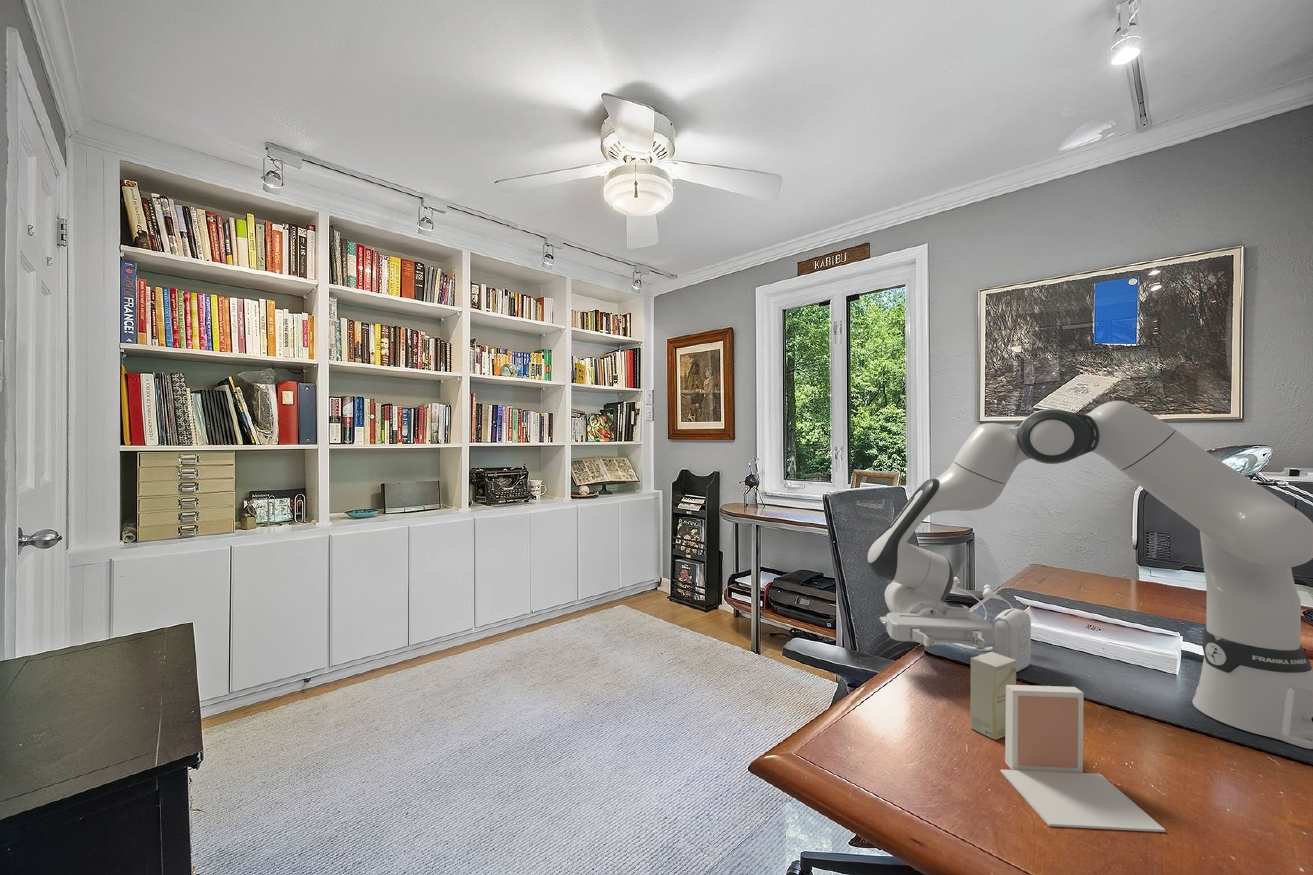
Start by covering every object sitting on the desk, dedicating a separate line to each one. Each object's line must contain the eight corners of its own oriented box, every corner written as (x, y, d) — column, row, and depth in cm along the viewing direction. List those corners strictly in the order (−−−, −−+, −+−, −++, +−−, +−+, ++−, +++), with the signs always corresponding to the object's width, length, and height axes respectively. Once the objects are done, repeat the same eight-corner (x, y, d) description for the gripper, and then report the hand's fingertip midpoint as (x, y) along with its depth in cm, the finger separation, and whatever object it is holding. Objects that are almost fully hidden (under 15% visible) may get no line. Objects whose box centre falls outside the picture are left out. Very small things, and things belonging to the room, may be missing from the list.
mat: (1100, 775, 79) (1100, 773, 79) (1165, 832, 68) (1165, 829, 68) (1000, 771, 80) (1000, 769, 80) (1048, 826, 69) (1048, 823, 69)
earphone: (1032, 621, 131) (1001, 582, 124) (1007, 683, 126) (974, 646, 119) (975, 605, 143) (945, 569, 136) (951, 661, 138) (918, 626, 131)
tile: (1074, 765, 81) (1075, 687, 81) (1083, 773, 79) (1084, 693, 79) (1005, 762, 82) (1005, 684, 82) (1012, 770, 80) (1013, 690, 80)
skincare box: (995, 741, 87) (995, 667, 87) (968, 728, 91) (969, 657, 91) (1017, 731, 90) (1018, 659, 90) (990, 718, 94) (991, 650, 94)
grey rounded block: (1011, 658, 119) (1012, 602, 119) (1033, 665, 115) (1034, 608, 115) (988, 669, 113) (989, 611, 113) (1011, 677, 110) (1011, 617, 110)
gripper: (876, 602, 117) (900, 625, 104) (973, 605, 116) (1011, 630, 102) (876, 630, 118) (899, 657, 104) (973, 634, 116) (1010, 662, 102)
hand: (956, 644), depth 103 cm, fingers open, 8 cm apart
